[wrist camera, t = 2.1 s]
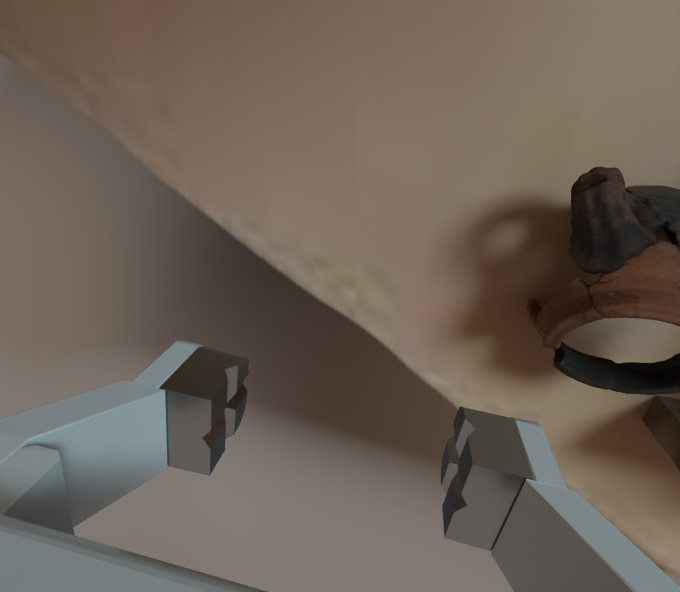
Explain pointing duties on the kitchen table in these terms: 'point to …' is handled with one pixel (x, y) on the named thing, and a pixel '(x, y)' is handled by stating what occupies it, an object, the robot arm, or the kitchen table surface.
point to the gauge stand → (666, 425)
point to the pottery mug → (617, 278)
